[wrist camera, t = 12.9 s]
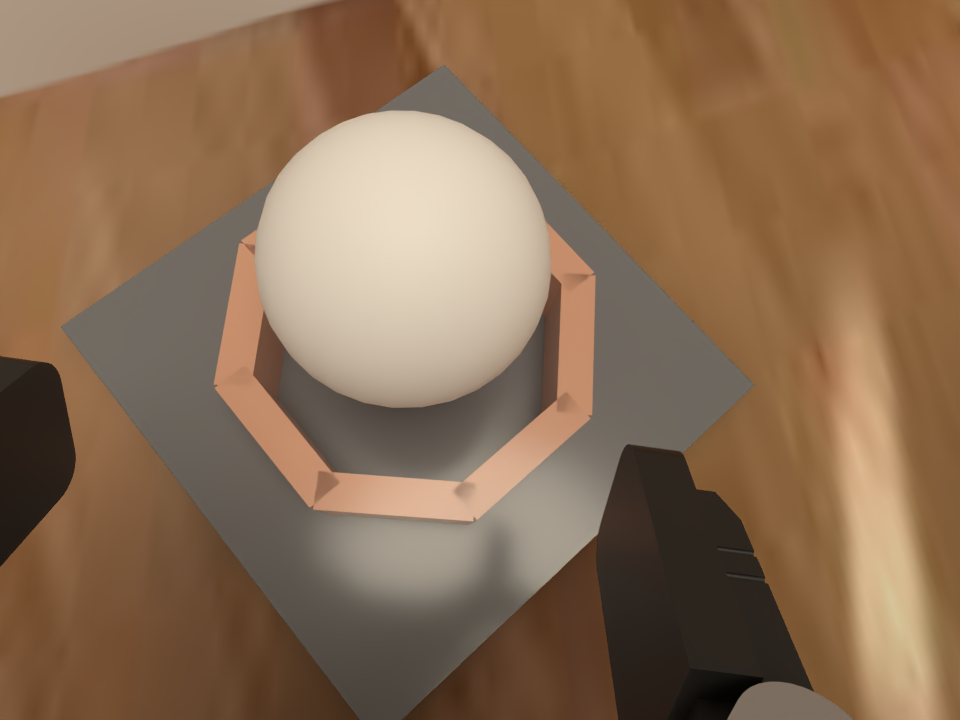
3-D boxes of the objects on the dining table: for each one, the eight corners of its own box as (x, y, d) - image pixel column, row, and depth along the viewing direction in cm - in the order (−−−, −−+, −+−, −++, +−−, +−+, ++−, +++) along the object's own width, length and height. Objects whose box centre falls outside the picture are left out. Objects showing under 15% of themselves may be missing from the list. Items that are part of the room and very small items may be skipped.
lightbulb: (297, 306, 22) (177, 82, 12) (473, 256, 23) (509, 6, 12) (349, 485, 21) (264, 413, 10) (534, 424, 22) (634, 300, 11)
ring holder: (443, 75, 26) (445, 2, 22) (746, 388, 23) (801, 361, 20) (70, 332, 22) (2, 292, 19) (379, 737, 19) (366, 778, 16)
